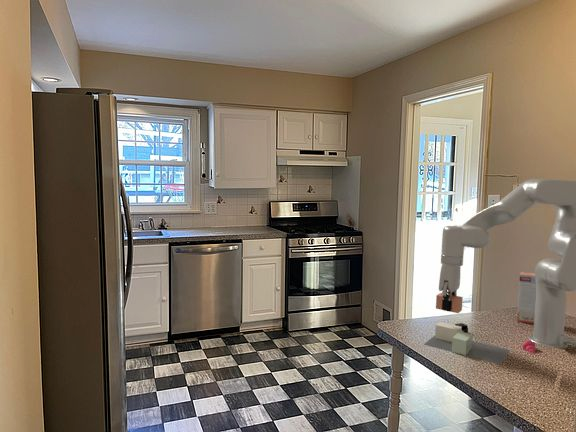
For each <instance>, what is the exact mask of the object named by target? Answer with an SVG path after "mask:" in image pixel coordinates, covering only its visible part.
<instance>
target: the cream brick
mask: <svg viewBox="0 0 576 432" xmlns="http://www.w3.org/2000/svg"><path fill="white" fill-rule="evenodd" d="M434 330H435V331H434V336H435V338H437V339H441V340H445V341H449V342H452V338H453V337H454V336H455V335H456V334H457V333H458V332H459V331H461V332H463V331H462V327H460V326H456V325H455V324H450V323H446V322H443V321H439V322H438V323H436V324H435V329H434Z"/></svg>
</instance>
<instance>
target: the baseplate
mask: <svg viewBox="0 0 576 432" xmlns="http://www.w3.org/2000/svg"><path fill="white" fill-rule="evenodd" d="M423 345H424V346H426V347H427V346H428V347H431V348H436V349H439V350H443V351H447V352H451V353H453V352H452V342H449V341H445V340H441V339H437V338H435V335H433V336H432V337H431V338H429V340H427V341H426V342H425V343H424V344H423ZM510 351H511V350H510V349H508V348H504V347H498V346H495V345H491V344H486V343H482V342H478V341H474V340H472V349H471V350H470V351H469V352H468V353H467V354H466V355H464V356H465V357H470V358H474V359H477V360H481V361H484V362H487V363H493V364H496V365H502V363H503V362H504V360H505V358H506V357H507V355H509V353H510ZM460 355H462V354H460ZM462 356H463V355H462Z"/></svg>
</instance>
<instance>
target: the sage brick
mask: <svg viewBox="0 0 576 432" xmlns="http://www.w3.org/2000/svg"><path fill="white" fill-rule="evenodd" d="M473 335H474V334H473V333H469V332H468V333H466V332H464V331H459V332H458V333H457V334H456V335H455V336H454V337H453V338H452V352H451V353H453V354H458V355H461V354H462V356H465V355H466V354H467V353H468V352H469V351H470V350H471V349H472V341H474V340H473V337H474V336H473Z"/></svg>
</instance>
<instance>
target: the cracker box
mask: <svg viewBox="0 0 576 432" xmlns="http://www.w3.org/2000/svg"><path fill="white" fill-rule="evenodd" d="M518 282H519V284H518V297H517V298H518V299H517V311H516V312H517V313H516V314H517V315H516V321H517V323H518V322H519V323H527V324H532V325H534V317H535V303H536V279H535V272H526V271H520V273H519V281H518Z"/></svg>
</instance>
